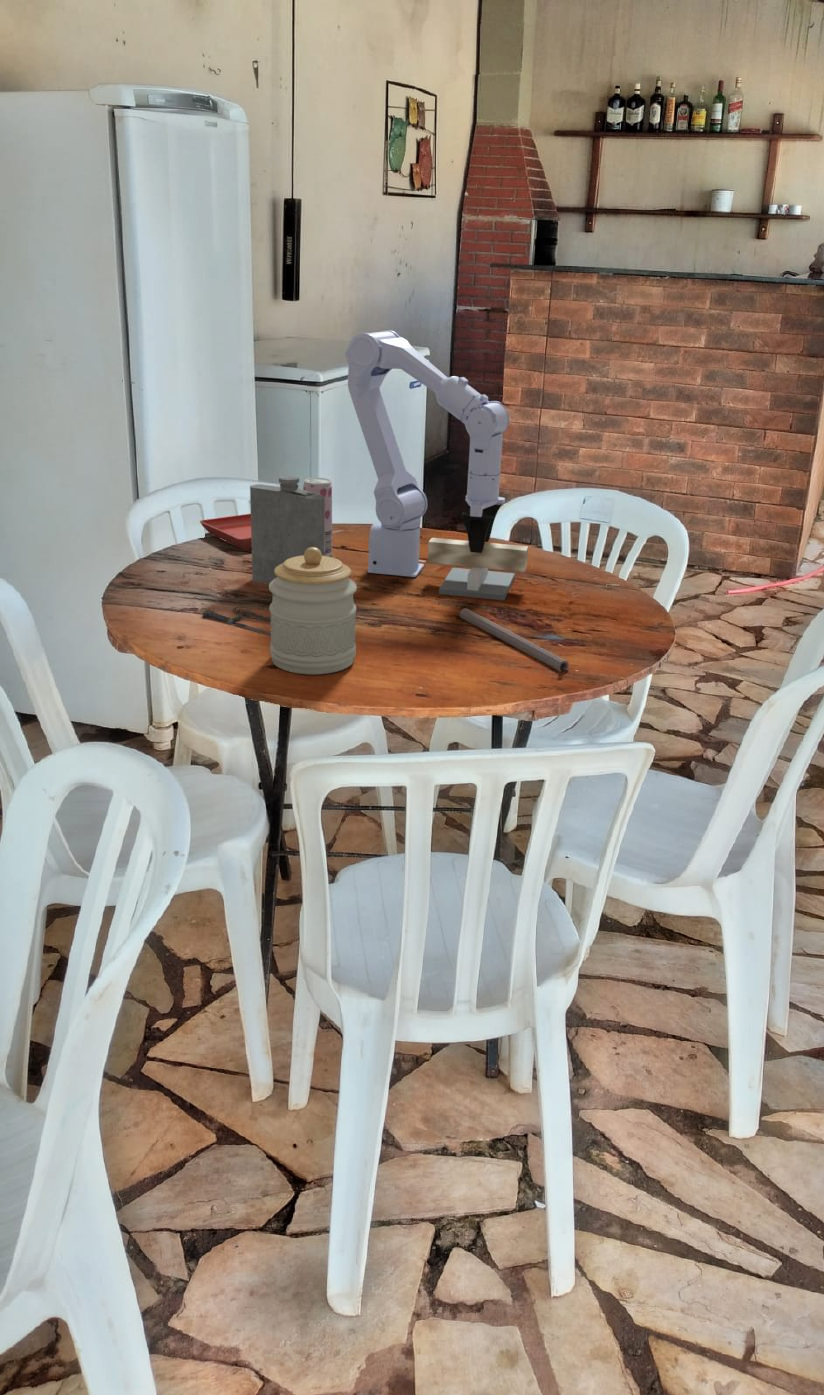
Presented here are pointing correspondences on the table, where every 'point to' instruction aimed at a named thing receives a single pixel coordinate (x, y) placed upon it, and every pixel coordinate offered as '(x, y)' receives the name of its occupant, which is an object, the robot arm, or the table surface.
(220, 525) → the plant saucer
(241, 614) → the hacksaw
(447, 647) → the table surface
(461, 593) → the grey stepped base
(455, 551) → the birch beam
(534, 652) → the metal rod
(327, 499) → the beverage can
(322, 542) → the hip flask
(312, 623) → the jar
